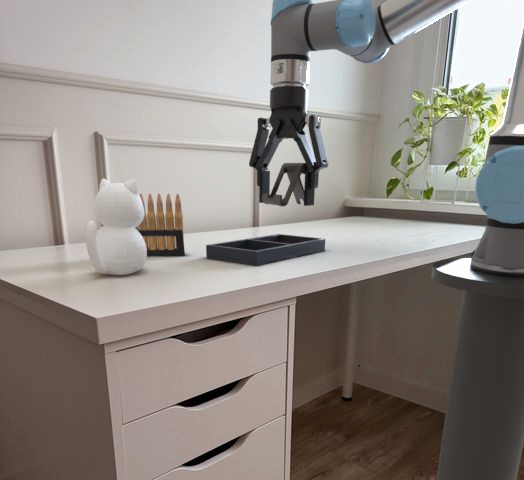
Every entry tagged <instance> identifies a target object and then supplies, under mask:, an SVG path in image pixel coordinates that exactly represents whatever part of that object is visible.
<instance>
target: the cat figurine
mask: <svg viewBox="0 0 524 480" xmlns="http://www.w3.org/2000/svg"><path fill="white" fill-rule="evenodd" d="M93 211H94V214H95V217H96V219H97V220H98V221H99V223H100V224H101V225H103V226H101V227H100V228H99V229H98V230H97V225H96V222H95V221H94V220H89V222H88V223H87V225H86V228H85V244H86V245H85V246H86V250H87V254H88V257H89V258H88V259H89V260H90V263H91V265H92V267H93V269H95V271H96V272H98V273H99V274H102V275H111V276H126V275H130V274H133V273H136V272H138V271H140V270H142V269H143V268H144V266H145V265H146V262H147V258H148V256H147V249H146V244H145V241H144V239H143V237H142V235H141V234H140V233H139V232H138V230H137V229H135V228H136V227H138V228H139V225H140V224H141V222H142V221H143V218H144V207H143V203H142V200H141V198H140V194H139V185H138V181H137V179H136V178H131V179H129V180H128V181H126V182H125V183H123V182H110V181H109V180H108V179H106V178H102V179H101V180H100V183H99V188H98V192H97V194H96V196H95V198H94V203H93Z"/></svg>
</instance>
